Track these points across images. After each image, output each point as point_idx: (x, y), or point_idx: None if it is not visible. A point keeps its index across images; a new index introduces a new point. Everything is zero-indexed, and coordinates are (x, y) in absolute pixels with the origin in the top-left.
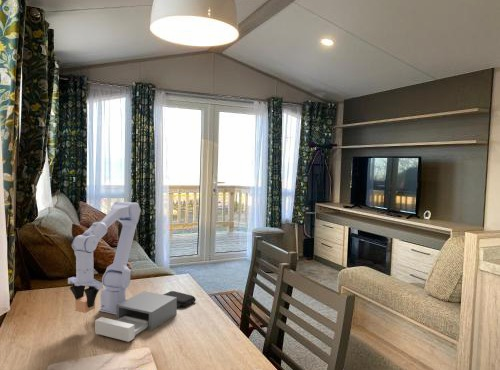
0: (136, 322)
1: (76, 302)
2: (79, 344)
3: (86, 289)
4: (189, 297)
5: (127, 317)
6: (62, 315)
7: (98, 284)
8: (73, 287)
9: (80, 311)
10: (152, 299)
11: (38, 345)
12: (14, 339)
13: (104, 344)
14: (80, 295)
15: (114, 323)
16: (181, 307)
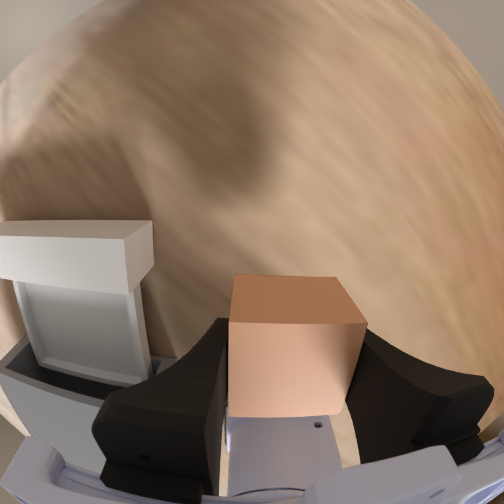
0: (84, 361)
1: (347, 311)
2: (161, 117)
3: (176, 444)
4: None
5: (129, 381)
6: (443, 317)
7: (2, 483)
8: (456, 411)
9: (285, 277)
10: (89, 462)
11: (339, 45)
12: (459, 78)
13: (68, 173)
14: (361, 391)
15: (21, 250)
16: None
